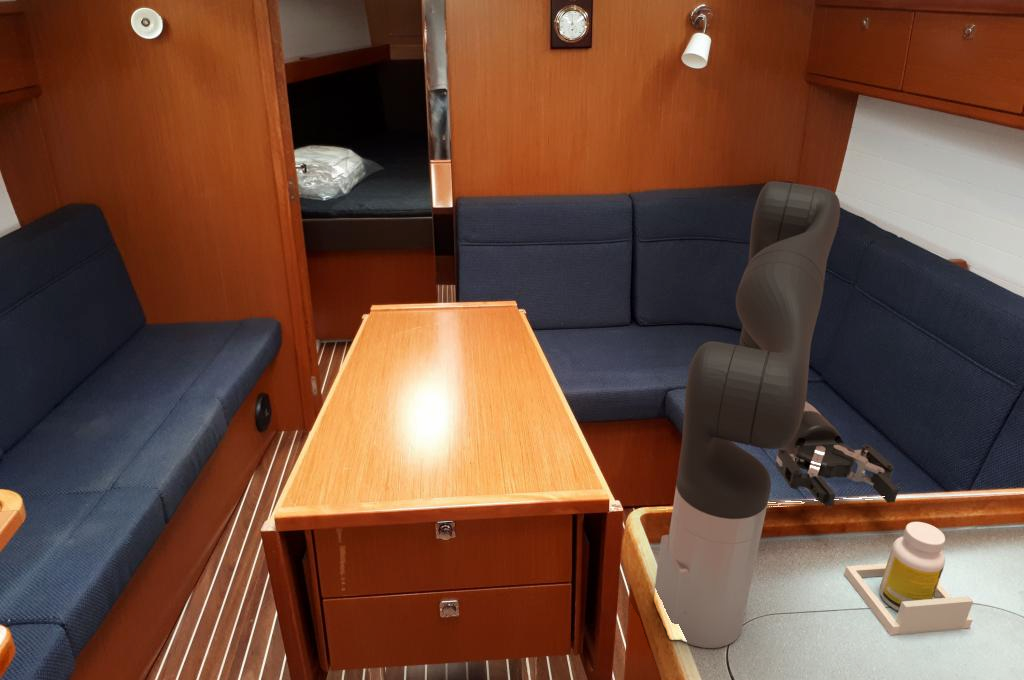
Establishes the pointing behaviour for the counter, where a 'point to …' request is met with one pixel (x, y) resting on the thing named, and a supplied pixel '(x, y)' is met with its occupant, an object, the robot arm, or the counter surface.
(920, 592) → the supplement bottle
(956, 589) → the counter surface
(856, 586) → the beige open frame
